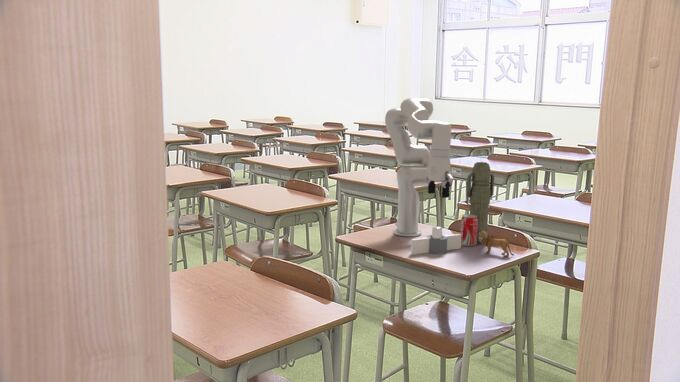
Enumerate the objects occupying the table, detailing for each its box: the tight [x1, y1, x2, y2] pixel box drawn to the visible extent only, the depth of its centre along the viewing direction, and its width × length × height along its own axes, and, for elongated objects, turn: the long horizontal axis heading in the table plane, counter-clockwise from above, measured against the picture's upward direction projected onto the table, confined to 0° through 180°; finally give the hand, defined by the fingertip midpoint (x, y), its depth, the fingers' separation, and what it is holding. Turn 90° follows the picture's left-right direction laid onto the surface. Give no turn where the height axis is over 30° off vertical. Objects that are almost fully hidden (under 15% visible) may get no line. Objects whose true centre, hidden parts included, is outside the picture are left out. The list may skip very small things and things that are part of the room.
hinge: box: [410, 233, 462, 256], centre depth 234 cm, size 8×24×6 cm, turn 116°
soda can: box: [459, 213, 478, 248], centre depth 244 cm, size 7×7×13 cm
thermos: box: [466, 161, 495, 245], centre depth 249 cm, size 9×12×35 cm
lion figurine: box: [479, 231, 515, 258], centre depth 231 cm, size 15×5×9 cm, turn 63°
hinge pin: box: [431, 225, 443, 239], centre depth 234 cm, size 4×4×10 cm
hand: (438, 195), depth 231 cm, fingers open, 9 cm apart
